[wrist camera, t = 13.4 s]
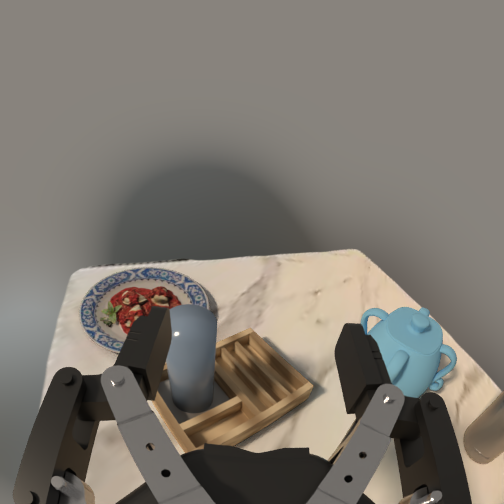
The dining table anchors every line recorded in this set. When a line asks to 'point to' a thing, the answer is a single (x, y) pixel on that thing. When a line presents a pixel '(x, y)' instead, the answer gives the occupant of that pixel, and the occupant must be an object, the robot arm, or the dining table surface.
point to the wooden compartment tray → (236, 394)
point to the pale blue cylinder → (192, 357)
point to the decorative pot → (410, 348)
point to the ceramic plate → (133, 301)
